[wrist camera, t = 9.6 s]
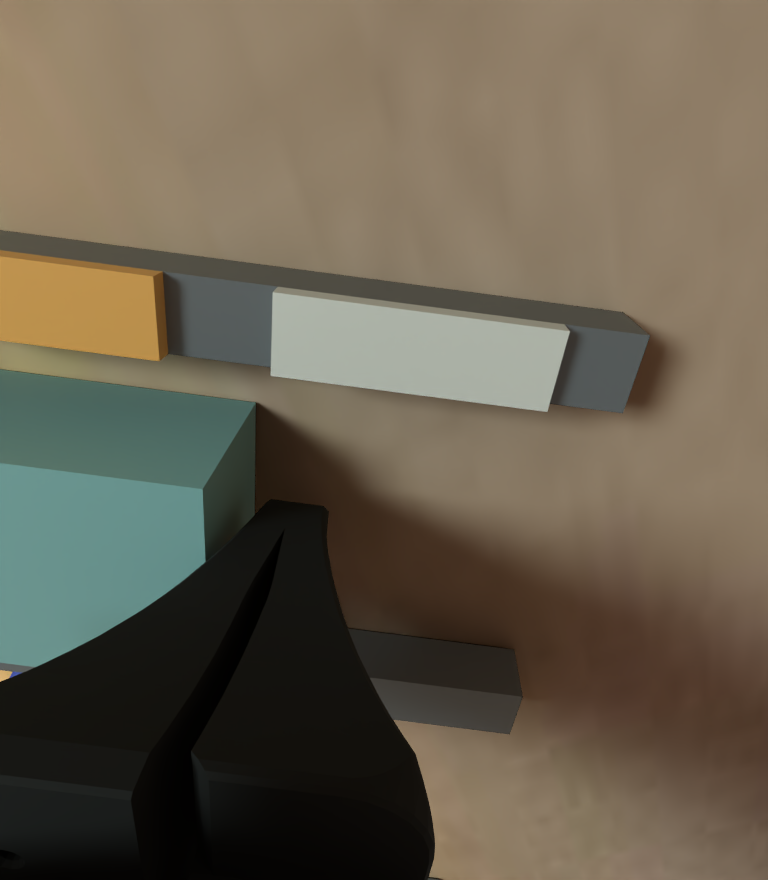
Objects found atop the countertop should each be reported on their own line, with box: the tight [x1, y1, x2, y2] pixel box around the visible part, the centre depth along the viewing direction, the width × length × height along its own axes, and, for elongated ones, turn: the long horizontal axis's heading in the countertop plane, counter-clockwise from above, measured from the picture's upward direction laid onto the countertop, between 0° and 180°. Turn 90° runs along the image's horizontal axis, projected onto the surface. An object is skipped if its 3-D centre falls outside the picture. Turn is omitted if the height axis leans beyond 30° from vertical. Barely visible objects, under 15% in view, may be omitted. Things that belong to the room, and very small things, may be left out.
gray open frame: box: [0, 629, 523, 880], centre depth 18 cm, size 22×14×2 cm, turn 83°
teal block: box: [0, 369, 256, 667], centre depth 12 cm, size 6×5×4 cm
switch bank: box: [0, 230, 650, 413], centre depth 13 cm, size 16×10×2 cm, turn 83°
